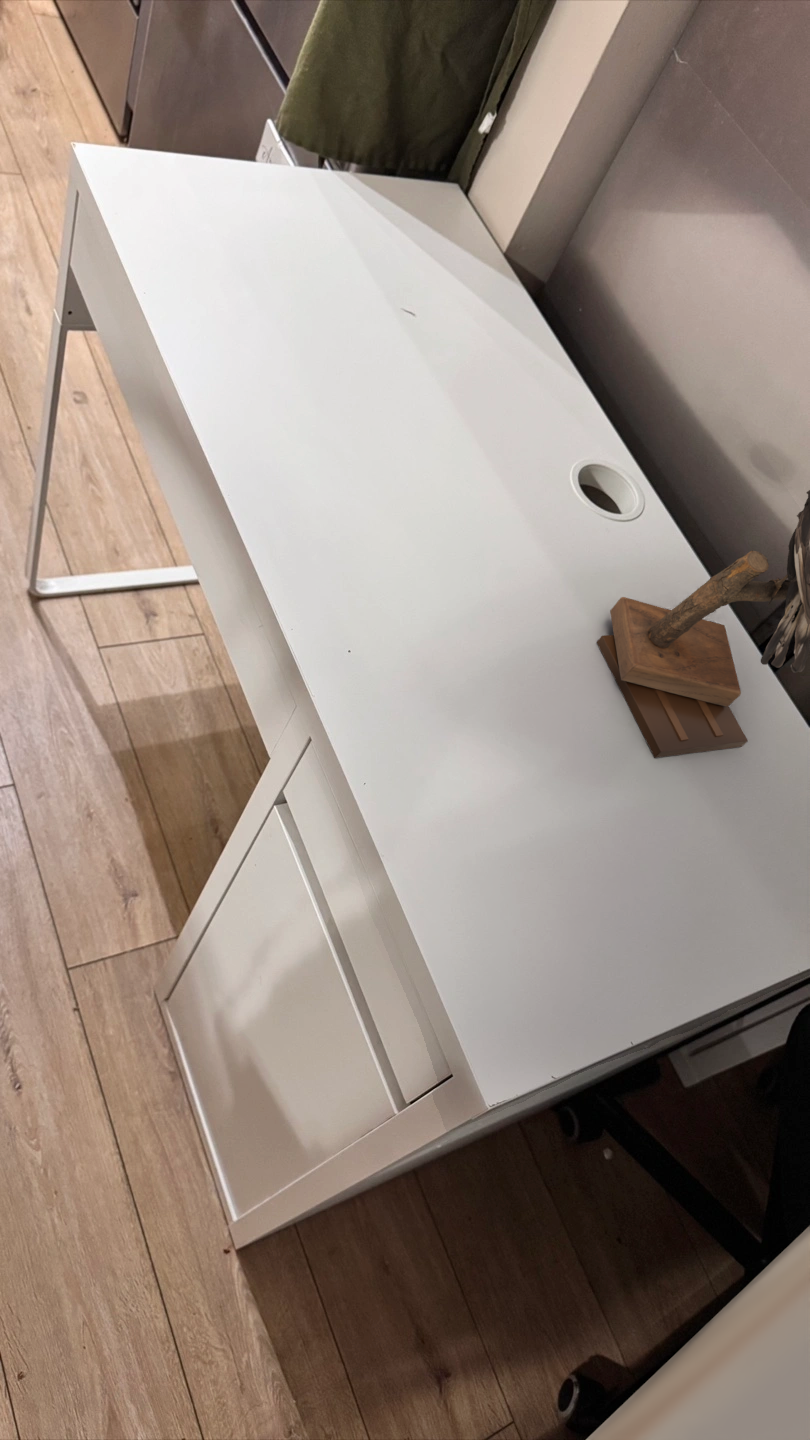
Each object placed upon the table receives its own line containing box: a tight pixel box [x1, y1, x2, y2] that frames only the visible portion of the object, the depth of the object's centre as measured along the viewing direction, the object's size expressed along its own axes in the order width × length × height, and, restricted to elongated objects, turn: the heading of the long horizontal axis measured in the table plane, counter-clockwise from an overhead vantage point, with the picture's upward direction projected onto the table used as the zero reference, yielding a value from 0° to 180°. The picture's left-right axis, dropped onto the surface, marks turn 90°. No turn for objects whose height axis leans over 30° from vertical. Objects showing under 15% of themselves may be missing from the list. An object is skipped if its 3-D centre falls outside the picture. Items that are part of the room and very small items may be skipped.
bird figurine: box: [609, 489, 810, 707], centre depth 78 cm, size 11×14×25 cm
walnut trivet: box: [596, 634, 749, 759], centre depth 88 cm, size 12×10×1 cm
